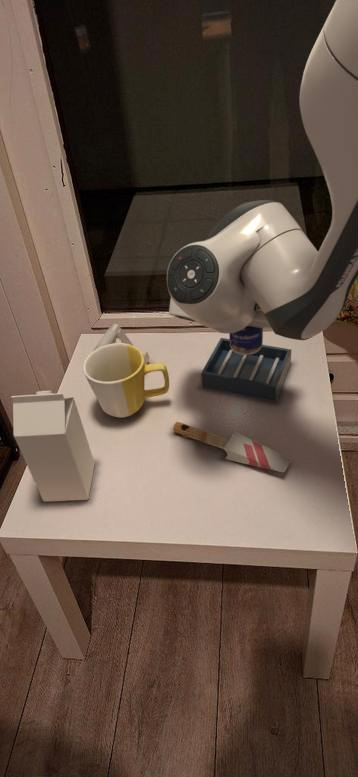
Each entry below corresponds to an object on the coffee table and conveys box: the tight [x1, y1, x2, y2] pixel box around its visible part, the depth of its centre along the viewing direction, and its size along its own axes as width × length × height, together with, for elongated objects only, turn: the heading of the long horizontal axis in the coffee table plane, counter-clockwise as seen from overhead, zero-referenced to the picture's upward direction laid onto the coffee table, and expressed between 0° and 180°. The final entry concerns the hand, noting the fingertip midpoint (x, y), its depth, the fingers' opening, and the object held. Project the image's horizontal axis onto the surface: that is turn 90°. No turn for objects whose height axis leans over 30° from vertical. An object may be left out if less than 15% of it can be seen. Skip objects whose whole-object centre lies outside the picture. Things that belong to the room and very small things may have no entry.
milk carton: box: [10, 390, 96, 502], centre depth 79 cm, size 7×7×19 cm
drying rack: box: [200, 337, 292, 403], centre depth 98 cm, size 14×11×4 cm
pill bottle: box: [228, 326, 264, 355], centre depth 92 cm, size 6×6×10 cm
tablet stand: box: [92, 323, 150, 365], centre depth 101 cm, size 9×8×8 cm
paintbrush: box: [172, 421, 292, 473], centre depth 86 cm, size 4×3×20 cm
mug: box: [82, 342, 170, 418], centre depth 93 cm, size 14×10×10 cm
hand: (247, 318), depth 92 cm, fingers closed on pill bottle, 6 cm apart
